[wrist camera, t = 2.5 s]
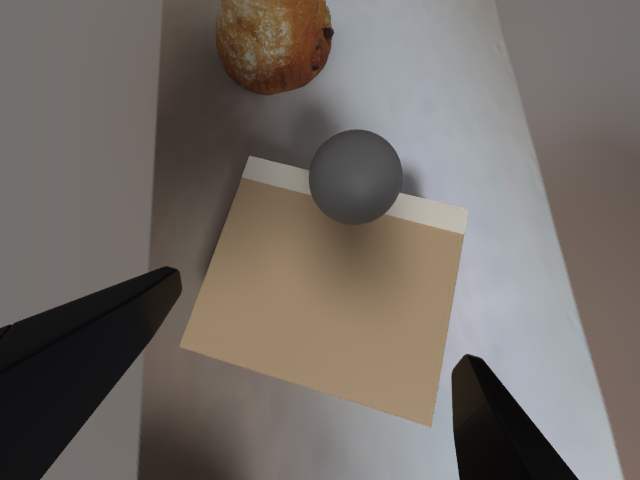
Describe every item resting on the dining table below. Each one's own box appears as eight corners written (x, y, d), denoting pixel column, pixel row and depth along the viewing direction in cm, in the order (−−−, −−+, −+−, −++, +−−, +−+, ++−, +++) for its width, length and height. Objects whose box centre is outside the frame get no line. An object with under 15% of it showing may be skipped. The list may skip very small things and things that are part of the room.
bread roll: (258, 46, 31) (198, -29, 24) (341, 2, 26) (298, -107, 19) (252, 123, 28) (185, 65, 21) (342, 90, 24) (294, 2, 17)
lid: (426, 422, 15) (510, 524, 8) (184, 345, 16) (80, 377, 9) (464, 207, 17) (551, 148, 11) (254, 155, 19) (212, 73, 12)
